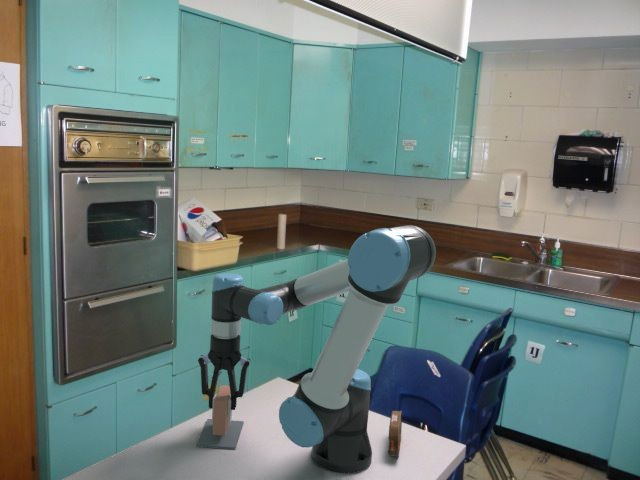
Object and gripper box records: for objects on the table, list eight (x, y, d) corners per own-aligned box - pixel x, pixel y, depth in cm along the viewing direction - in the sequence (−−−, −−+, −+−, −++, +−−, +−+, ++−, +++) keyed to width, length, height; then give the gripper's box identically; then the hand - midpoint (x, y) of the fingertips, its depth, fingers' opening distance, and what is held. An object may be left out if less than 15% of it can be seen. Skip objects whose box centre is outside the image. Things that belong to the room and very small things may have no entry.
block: (233, 386, 155) (226, 402, 145) (231, 417, 156) (225, 435, 146) (221, 385, 155) (213, 401, 145) (220, 416, 156) (212, 434, 146)
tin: (397, 463, 144) (400, 431, 142) (385, 461, 144) (388, 430, 143) (401, 434, 158) (404, 406, 157) (390, 432, 159) (392, 404, 157)
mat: (243, 423, 159) (243, 421, 159) (235, 449, 145) (235, 447, 145) (207, 420, 159) (207, 418, 159) (195, 446, 145) (195, 444, 145)
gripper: (259, 331, 149) (254, 415, 153) (197, 327, 150) (194, 411, 153) (255, 341, 142) (250, 429, 146) (190, 336, 142) (187, 424, 146)
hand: (221, 419), depth 150 cm, fingers closed on block, 3 cm apart
